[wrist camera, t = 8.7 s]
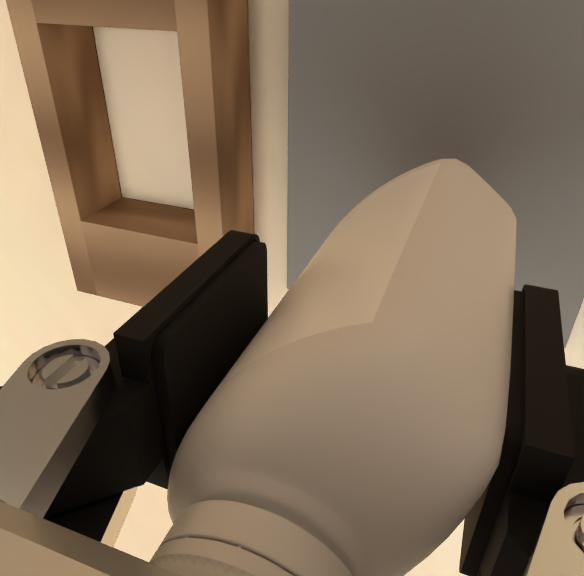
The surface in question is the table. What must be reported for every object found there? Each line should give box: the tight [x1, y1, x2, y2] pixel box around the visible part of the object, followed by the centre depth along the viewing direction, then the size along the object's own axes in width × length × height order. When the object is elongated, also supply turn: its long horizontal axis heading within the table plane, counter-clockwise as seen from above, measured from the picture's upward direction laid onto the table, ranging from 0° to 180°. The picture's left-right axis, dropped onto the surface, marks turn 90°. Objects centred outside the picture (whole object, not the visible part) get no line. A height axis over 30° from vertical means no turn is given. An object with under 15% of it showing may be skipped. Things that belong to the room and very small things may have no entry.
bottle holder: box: [6, 0, 254, 307], centre depth 22 cm, size 16×8×3 cm, turn 0°
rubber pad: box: [287, 0, 584, 348], centre depth 19 cm, size 14×12×1 cm
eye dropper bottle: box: [149, 159, 517, 576], centre depth 8 cm, size 4×6×12 cm
